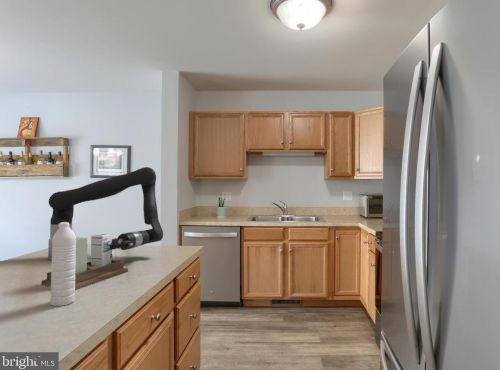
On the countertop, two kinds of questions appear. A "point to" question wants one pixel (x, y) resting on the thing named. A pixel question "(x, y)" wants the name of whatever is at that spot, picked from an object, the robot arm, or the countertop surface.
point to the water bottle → (63, 266)
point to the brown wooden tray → (93, 274)
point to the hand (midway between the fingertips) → (102, 246)
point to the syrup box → (101, 249)
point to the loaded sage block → (81, 255)
